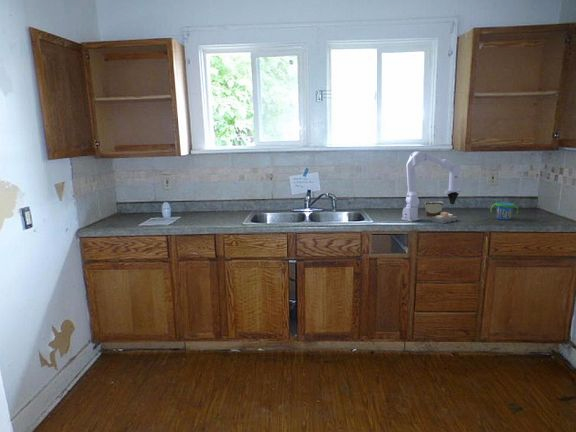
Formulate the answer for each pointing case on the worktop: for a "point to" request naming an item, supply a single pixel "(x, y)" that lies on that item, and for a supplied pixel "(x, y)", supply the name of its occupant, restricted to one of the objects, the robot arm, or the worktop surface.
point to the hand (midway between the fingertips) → (452, 204)
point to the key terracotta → (444, 214)
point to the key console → (444, 219)
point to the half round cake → (433, 208)
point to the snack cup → (504, 210)
